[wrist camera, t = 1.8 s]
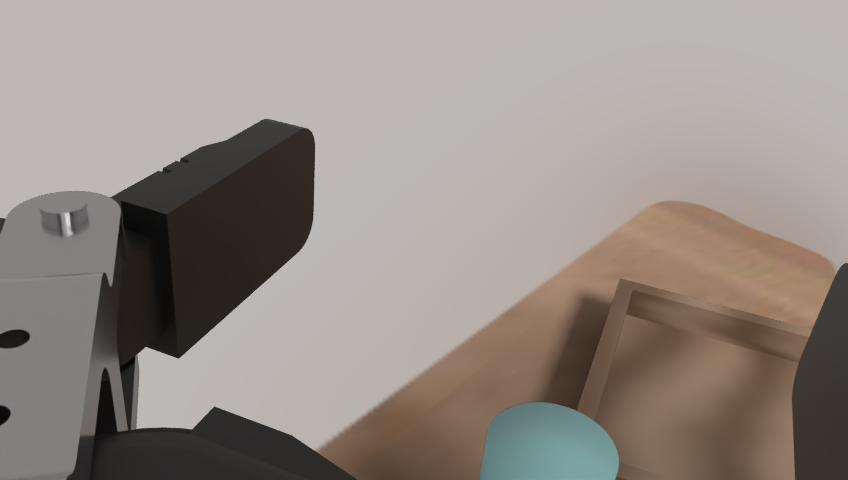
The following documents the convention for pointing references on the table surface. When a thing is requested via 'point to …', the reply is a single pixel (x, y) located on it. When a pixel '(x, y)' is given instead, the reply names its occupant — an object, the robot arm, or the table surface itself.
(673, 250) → the table surface
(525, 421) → the teal canister
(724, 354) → the walnut tray
